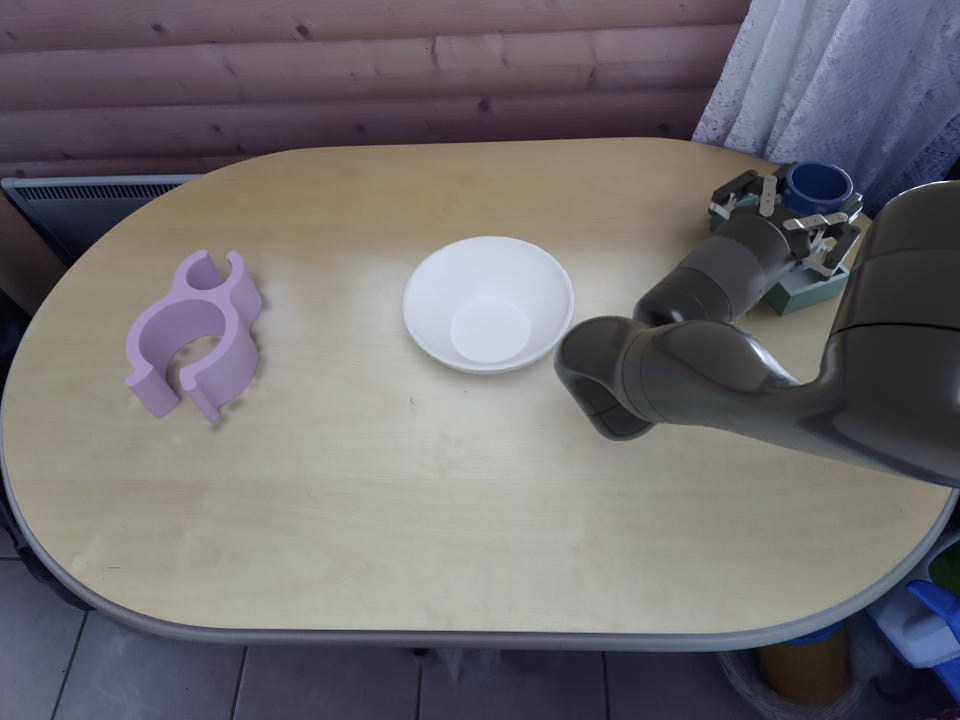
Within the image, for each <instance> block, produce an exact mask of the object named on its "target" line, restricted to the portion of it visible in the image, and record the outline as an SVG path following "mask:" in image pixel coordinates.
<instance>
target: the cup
mask: <svg viewBox="0 0 960 720" xmlns="http://www.w3.org/2000/svg"><path fill="white" fill-rule="evenodd" d="M853 187H854V186H853V182H852V179H851V177H850V176H849V175H848V174H847V173H846V172H845V171H844V169H841V168H840V167H838V166H836V165H834V164H832V163H828V162H825V161H821V160H804V161H801V162H798V163H797V164H795V165H794V166H793V167H791V168H790V169H789V170H788V173H787V175H786V177H785V180H784V182H783V184H782V187H781V189H780V191H779V194H777V198H776V201H775V203H774V204H776V203H779V204H781V205H783V206H784V207H786V208H787V209H788V210H789V211H791V212H793V213H796V214H799V215H801V216H803V217H804V218H805V217H809V216H812V215H816V214H821V215H822V216H825V215H829V214H833V213H836V211H837V209H838V208H839V207H840V206H841V205H843V204H844V203H845V202H846V201H847V200H848V199H849V198H850V197H851V194H852V191H853ZM825 242H826V241H824V242H821V243H819V244H818V245H817V246H815V247H813V248H811V252H812V253H819V252H820V250H821V248H822V246H823V244H824V245H825ZM807 268H809V267H808V266H806V265H802V266H800V267H795V268H793V269H791V270H790V271H788V272H790V273H793V272H800V271H803V270H805V269H807Z"/></svg>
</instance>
